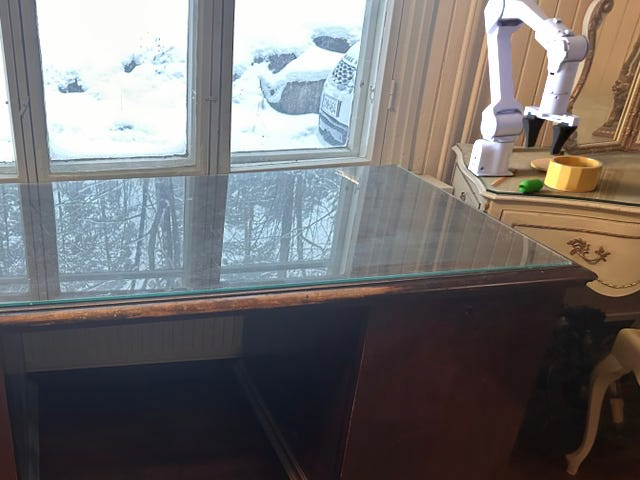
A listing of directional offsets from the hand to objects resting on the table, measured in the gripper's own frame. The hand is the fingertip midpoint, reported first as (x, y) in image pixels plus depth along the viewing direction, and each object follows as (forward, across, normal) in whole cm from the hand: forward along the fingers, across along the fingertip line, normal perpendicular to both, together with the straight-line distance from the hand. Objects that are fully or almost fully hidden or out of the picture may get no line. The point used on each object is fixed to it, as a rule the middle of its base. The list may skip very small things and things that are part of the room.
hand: (542, 150), depth 167 cm
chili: (+10, +1, -1) cm, 10 cm away
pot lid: (+9, -12, +20) cm, 25 cm away
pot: (+10, +1, +12) cm, 15 cm away
